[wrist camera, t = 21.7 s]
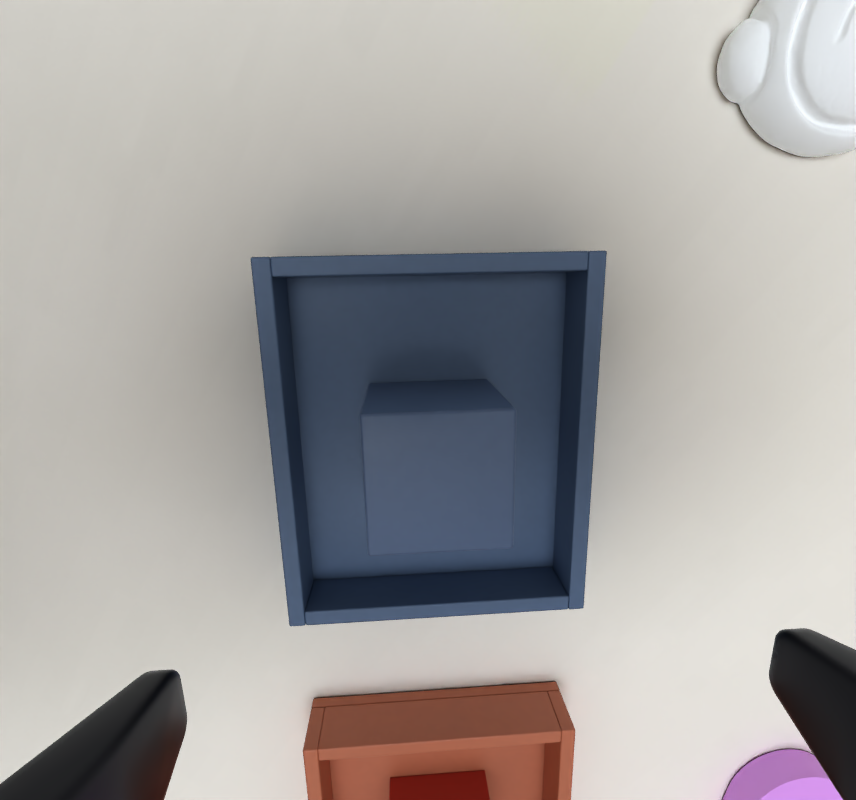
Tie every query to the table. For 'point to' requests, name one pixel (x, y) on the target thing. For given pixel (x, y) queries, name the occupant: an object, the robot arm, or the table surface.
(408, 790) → the red block
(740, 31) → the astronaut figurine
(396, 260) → the slate tray
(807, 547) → the table surface
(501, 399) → the blue block
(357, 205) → the table surface
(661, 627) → the table surface
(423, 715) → the terracotta tray
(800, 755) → the bracket
